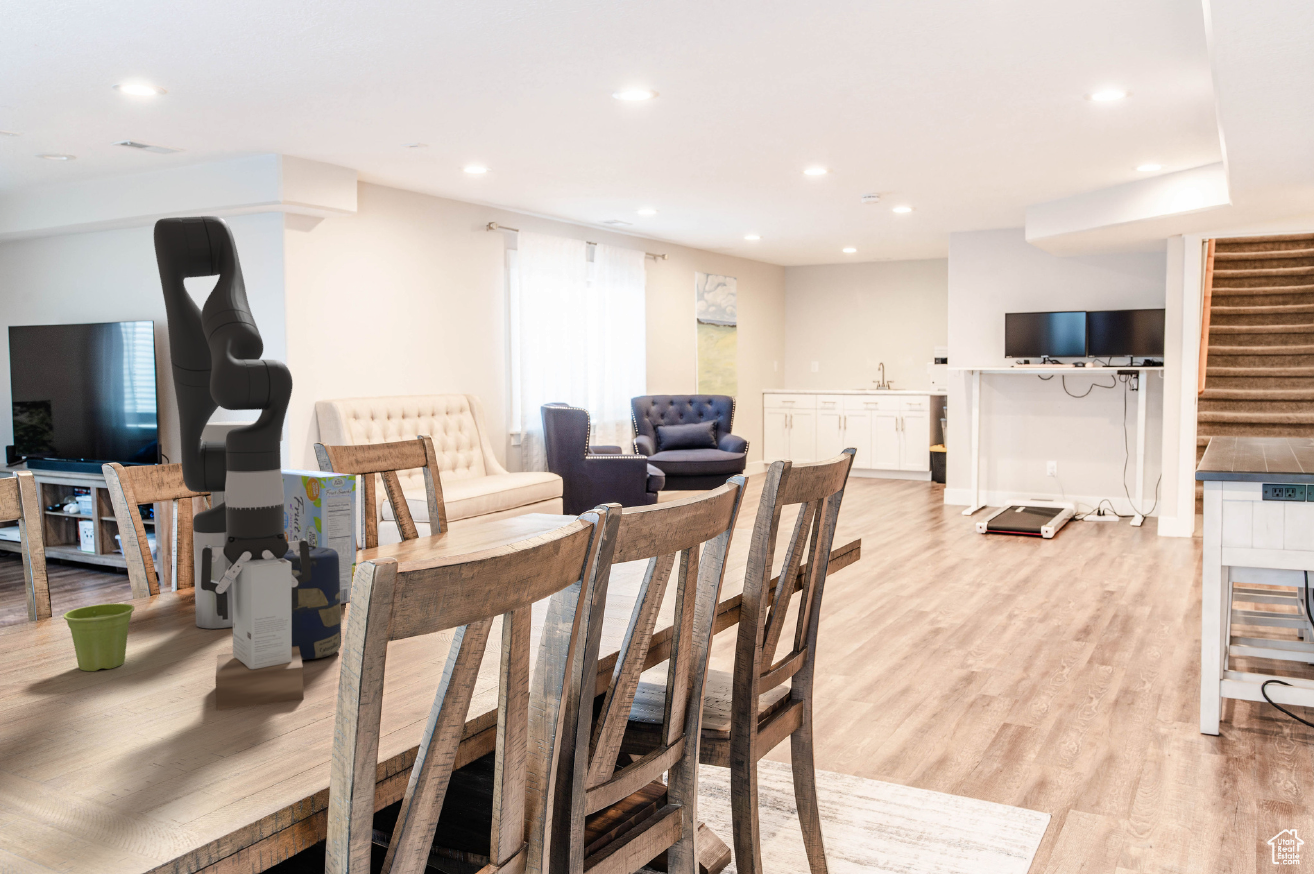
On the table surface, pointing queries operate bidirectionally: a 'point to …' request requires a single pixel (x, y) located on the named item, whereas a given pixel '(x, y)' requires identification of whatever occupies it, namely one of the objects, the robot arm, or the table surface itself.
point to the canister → (317, 604)
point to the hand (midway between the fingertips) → (258, 615)
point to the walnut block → (257, 682)
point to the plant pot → (100, 634)
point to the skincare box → (263, 613)
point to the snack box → (323, 516)
